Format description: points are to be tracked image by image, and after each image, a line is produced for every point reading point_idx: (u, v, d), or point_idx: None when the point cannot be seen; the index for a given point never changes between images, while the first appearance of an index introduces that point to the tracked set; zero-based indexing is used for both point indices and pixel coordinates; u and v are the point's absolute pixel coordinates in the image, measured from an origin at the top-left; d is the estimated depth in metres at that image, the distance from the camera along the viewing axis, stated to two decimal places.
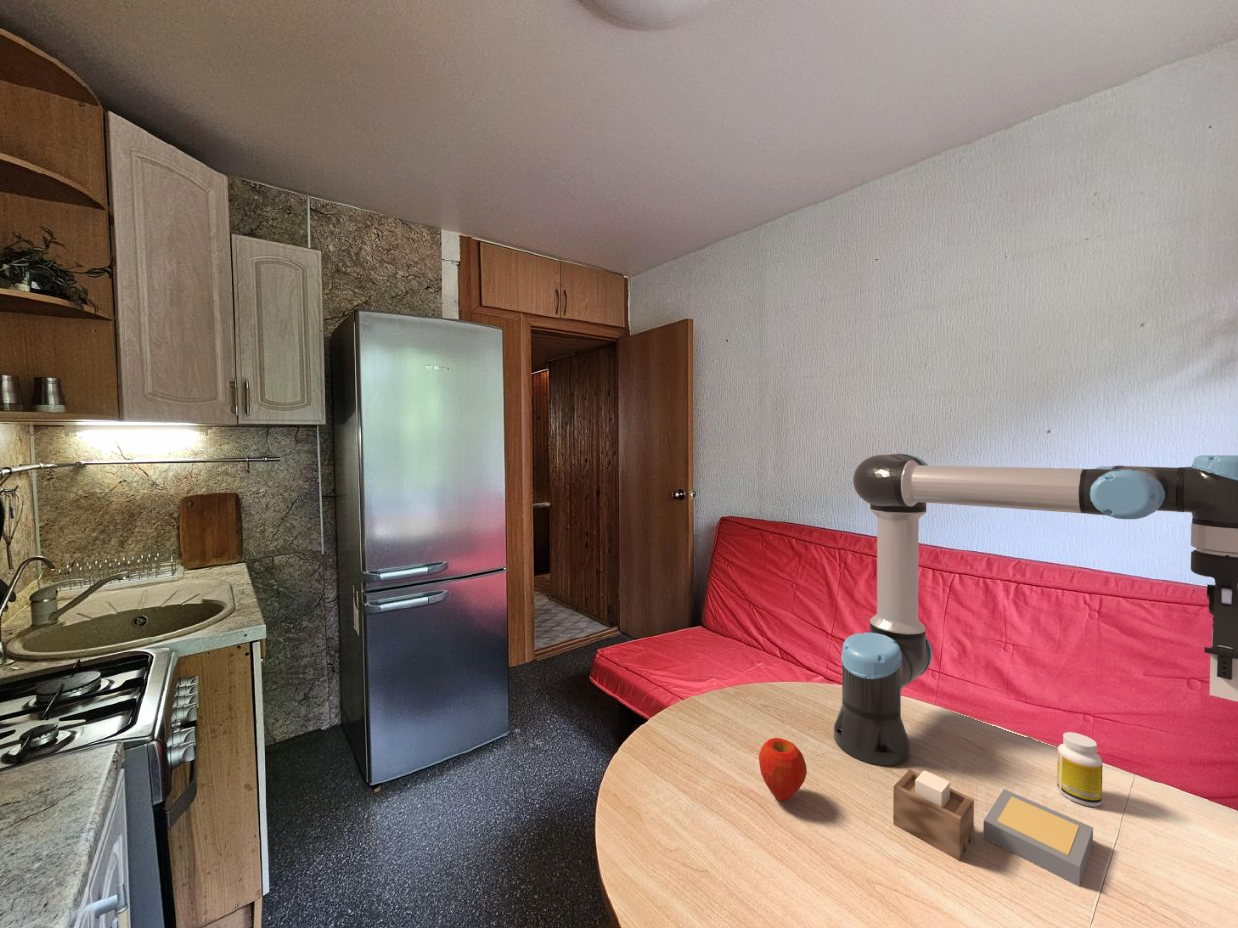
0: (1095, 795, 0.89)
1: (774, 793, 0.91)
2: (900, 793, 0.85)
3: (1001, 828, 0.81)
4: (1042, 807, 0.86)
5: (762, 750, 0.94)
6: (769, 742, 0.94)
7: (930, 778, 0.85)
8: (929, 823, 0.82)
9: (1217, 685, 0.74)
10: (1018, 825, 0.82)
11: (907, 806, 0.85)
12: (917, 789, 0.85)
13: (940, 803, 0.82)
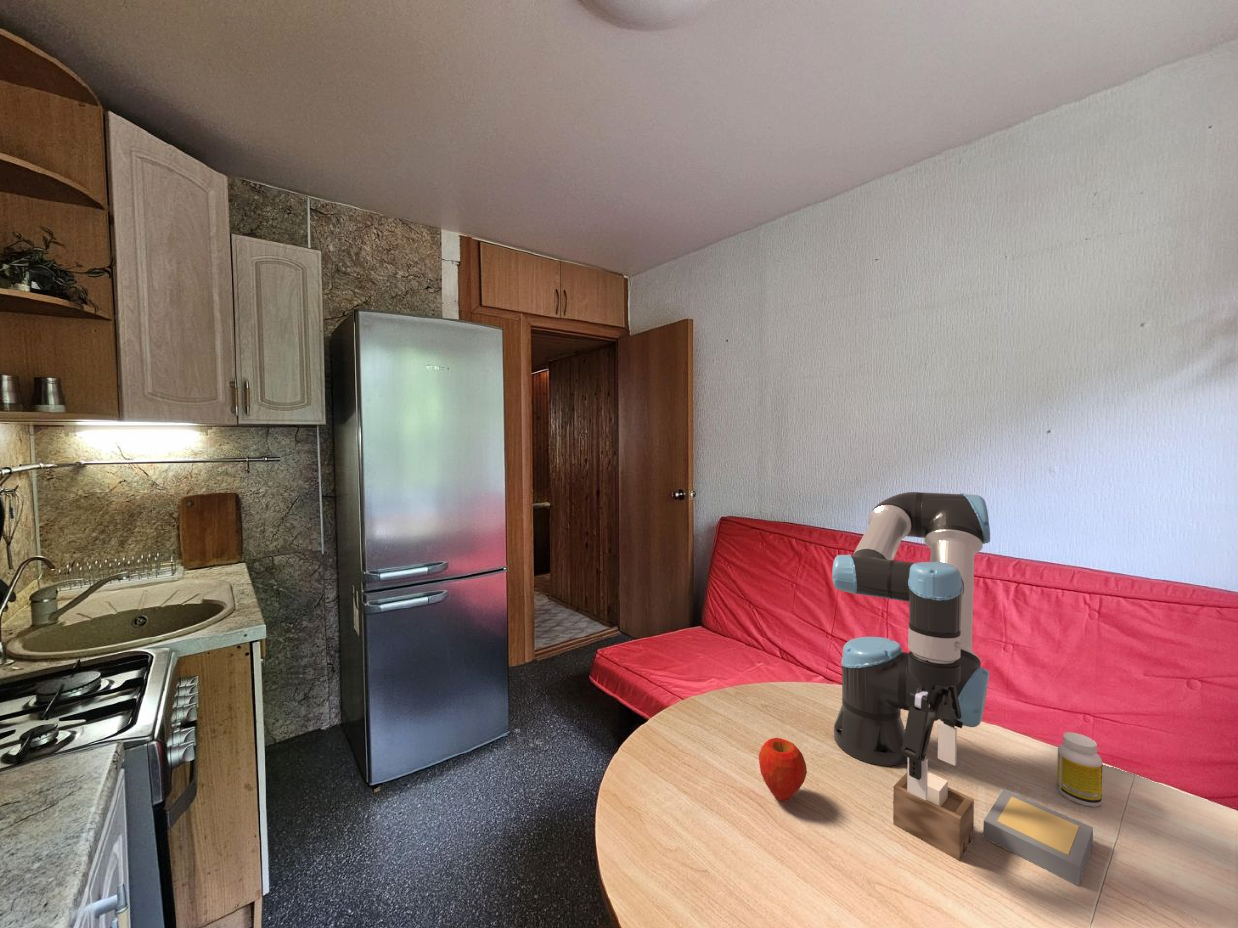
0: (1095, 795, 0.89)
1: (774, 793, 0.91)
2: (900, 793, 0.85)
3: (1001, 828, 0.81)
4: (1042, 807, 0.86)
5: (762, 750, 0.94)
6: (769, 742, 0.94)
7: (928, 777, 0.85)
8: (929, 823, 0.82)
9: (912, 783, 0.80)
10: (1018, 825, 0.82)
11: (907, 806, 0.85)
12: None
13: (938, 802, 0.82)
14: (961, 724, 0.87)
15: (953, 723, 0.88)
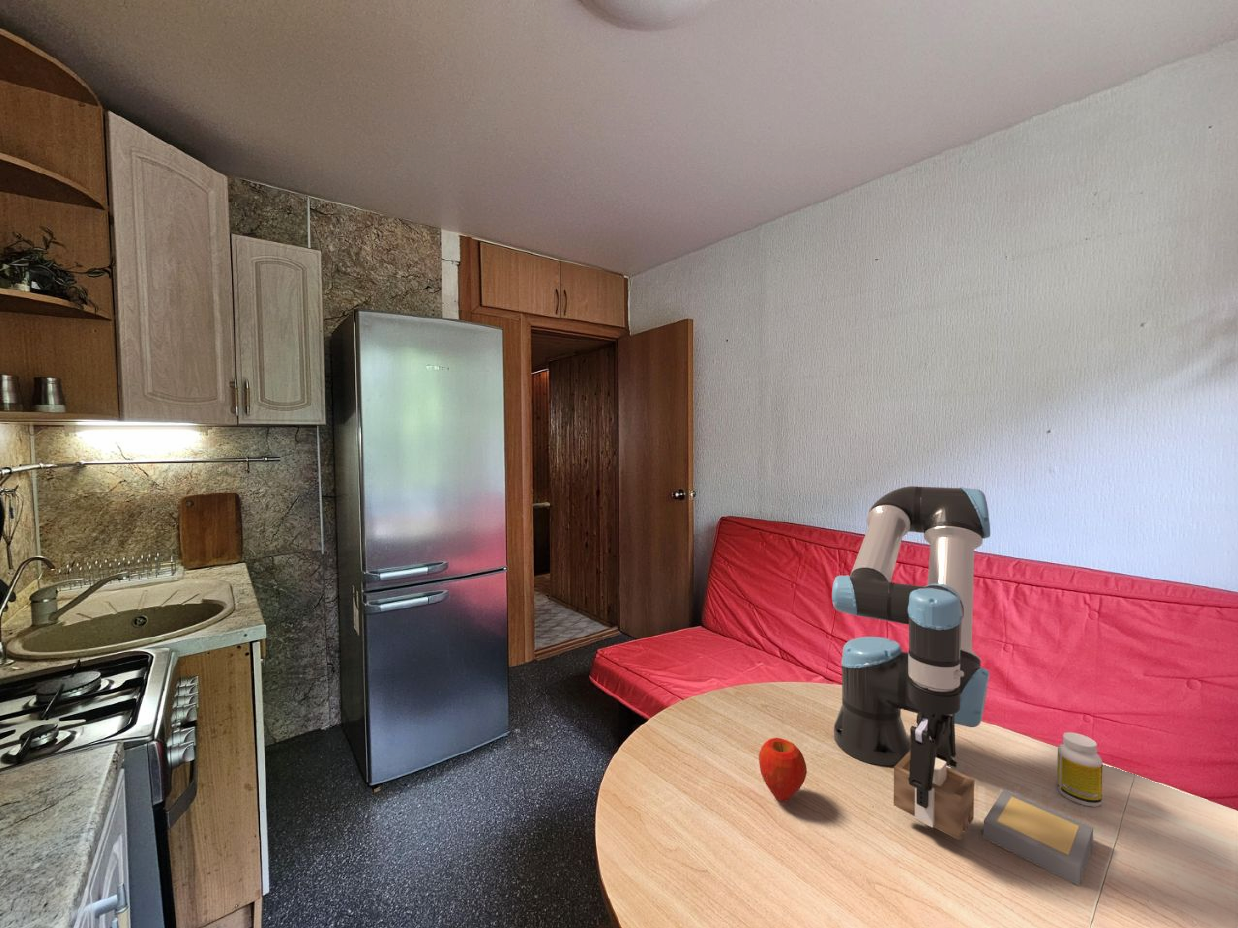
0: (1095, 795, 0.89)
1: (774, 793, 0.91)
2: (900, 774, 0.86)
3: (1001, 828, 0.81)
4: (1042, 807, 0.86)
5: (762, 750, 0.94)
6: (769, 742, 0.94)
7: None
8: None
9: (919, 810, 0.83)
10: (1018, 825, 0.82)
11: (907, 786, 0.85)
12: None
13: (937, 783, 0.82)
14: (955, 763, 0.86)
15: (947, 760, 0.86)
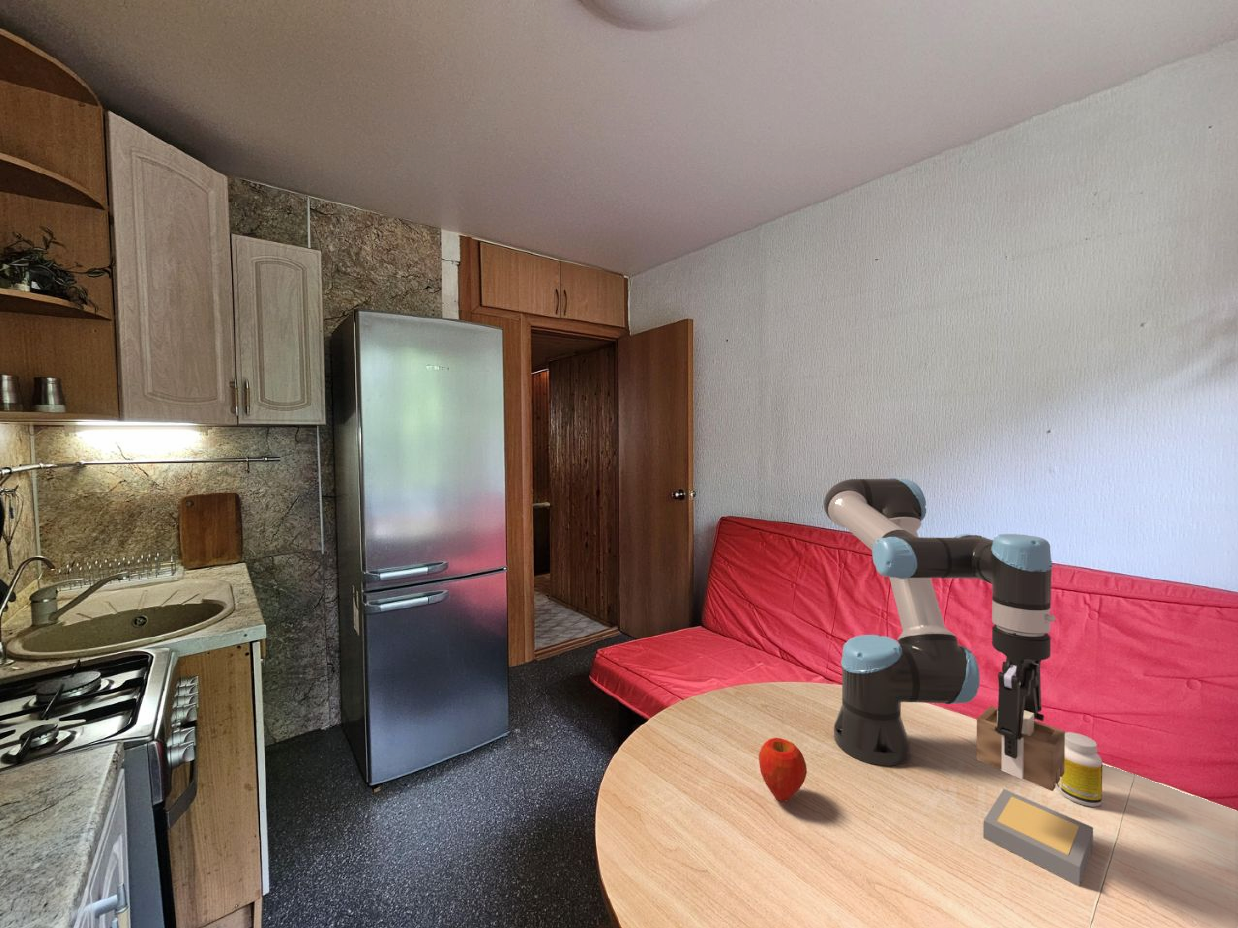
0: (1095, 795, 0.89)
1: (774, 793, 0.91)
2: (984, 725, 0.83)
3: (1001, 828, 0.81)
4: (1042, 807, 0.86)
5: (762, 750, 0.94)
6: (769, 742, 0.94)
7: None
8: None
9: (1007, 762, 0.80)
10: (1018, 825, 0.82)
11: (992, 738, 0.82)
12: None
13: (1026, 733, 0.79)
14: (1042, 717, 0.83)
15: (1034, 714, 0.83)
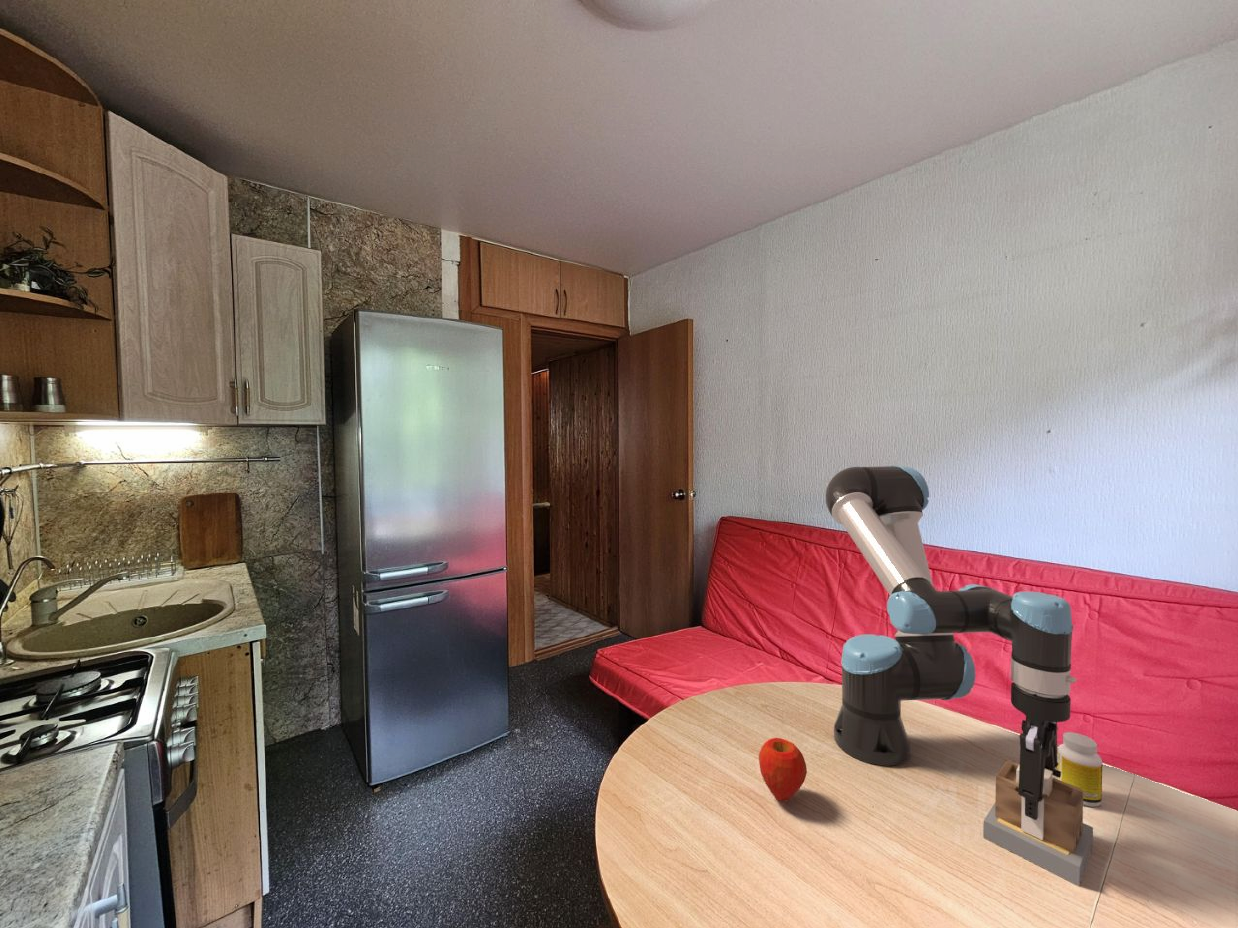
0: (1095, 795, 0.89)
1: (774, 793, 0.91)
2: (1004, 783, 0.83)
3: (1001, 828, 0.81)
4: None
5: (762, 750, 0.94)
6: (769, 742, 0.94)
7: None
8: None
9: (1027, 822, 0.80)
10: None
11: (1011, 797, 0.82)
12: None
13: (1046, 793, 0.79)
14: (1059, 773, 0.84)
15: (1051, 770, 0.84)
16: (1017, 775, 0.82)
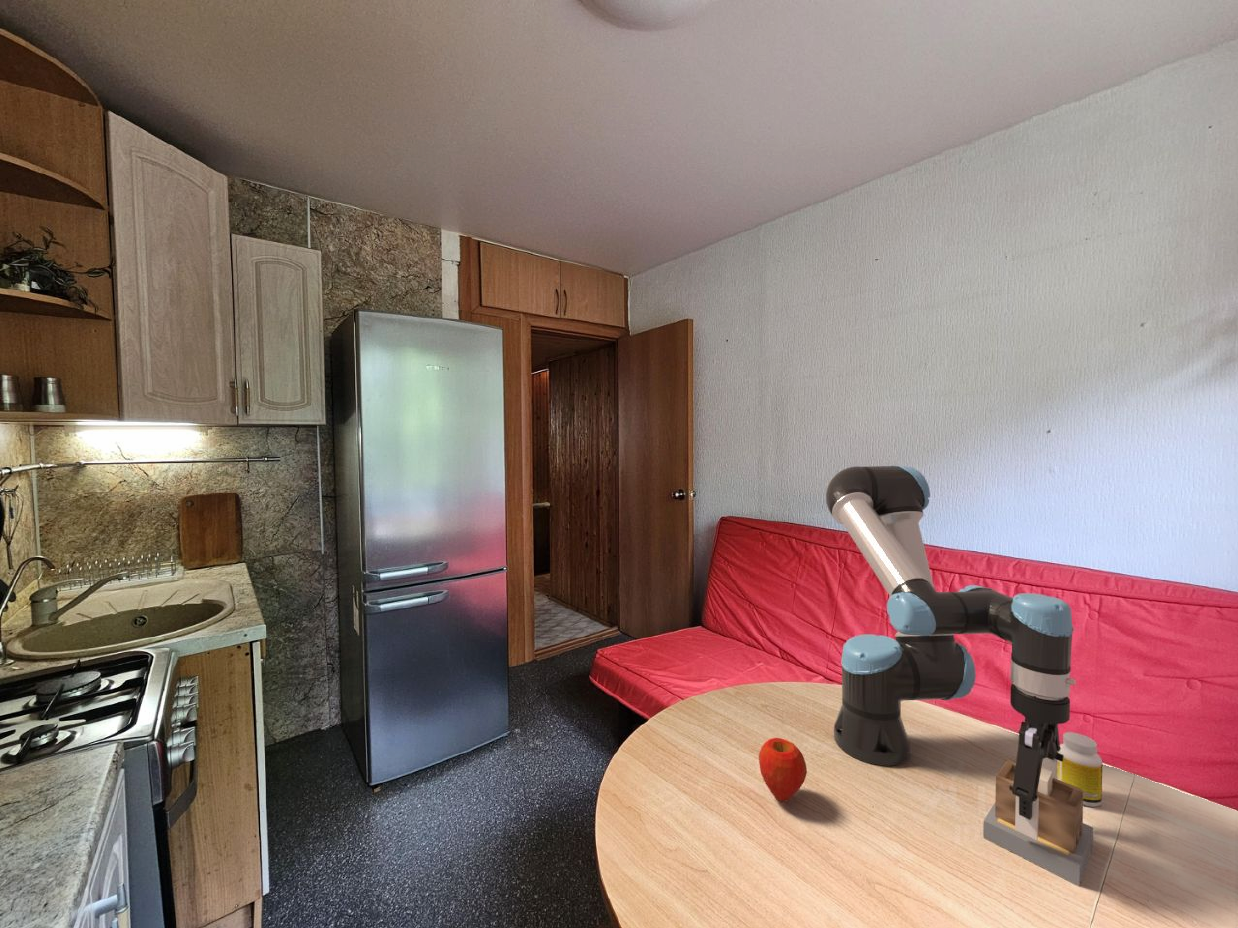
0: (1095, 795, 0.89)
1: (774, 793, 0.91)
2: (1004, 783, 0.83)
3: (1001, 828, 0.81)
4: None
5: (762, 750, 0.94)
6: (769, 742, 0.94)
7: None
8: (1038, 814, 0.79)
9: (1021, 821, 0.78)
10: None
11: (1011, 797, 0.82)
12: None
13: (1046, 793, 0.79)
14: (1062, 757, 0.86)
15: (1054, 756, 0.86)
16: None
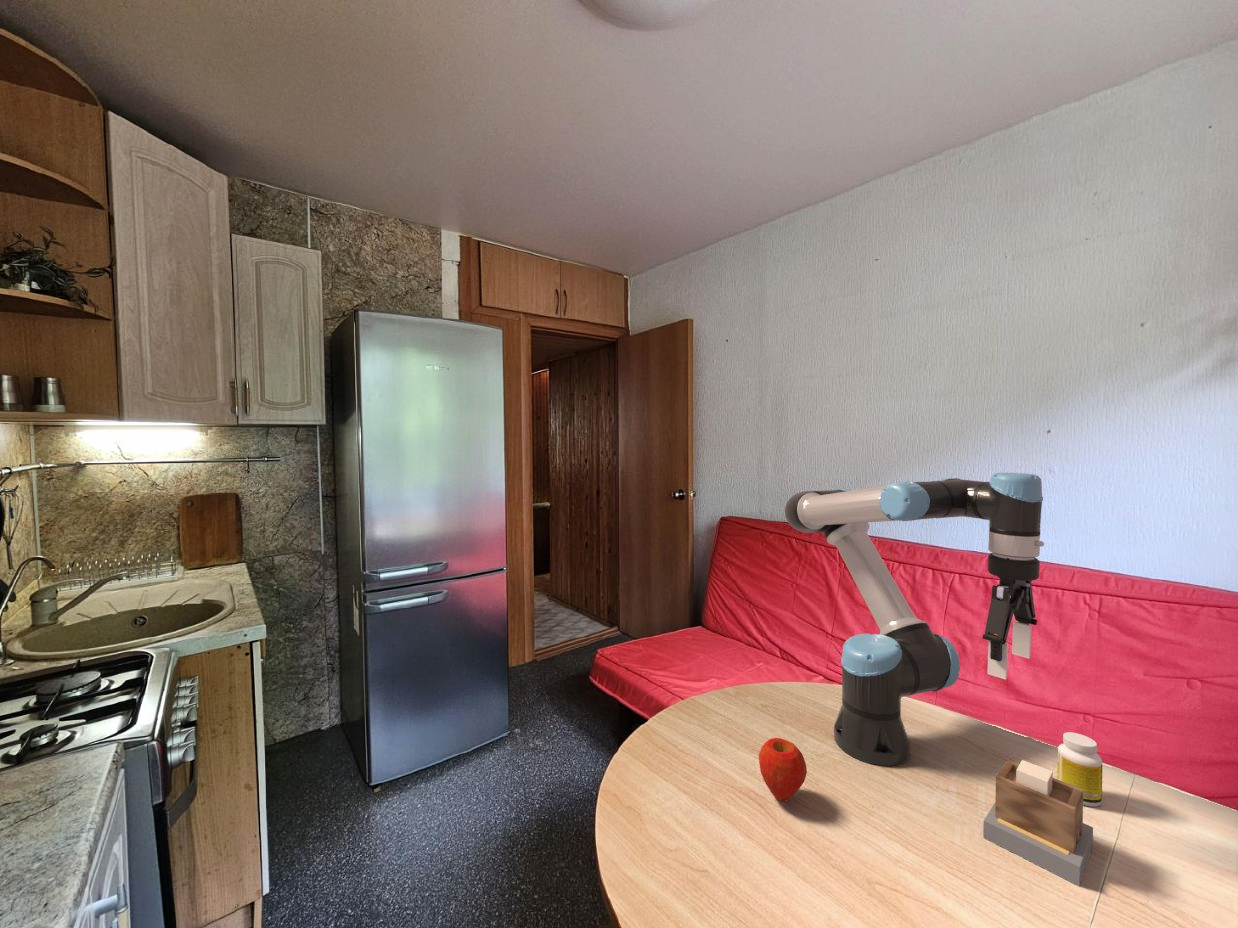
0: (1095, 795, 0.89)
1: (774, 793, 0.91)
2: (1004, 783, 0.83)
3: (1001, 828, 0.81)
4: None
5: (762, 750, 0.94)
6: (769, 742, 0.94)
7: (1031, 768, 0.83)
8: (1038, 814, 0.79)
9: (992, 666, 0.89)
10: None
11: (1011, 797, 0.82)
12: (1019, 779, 0.82)
13: (1046, 793, 0.79)
14: (1036, 622, 0.96)
15: (1028, 621, 0.96)
16: (1017, 775, 0.82)
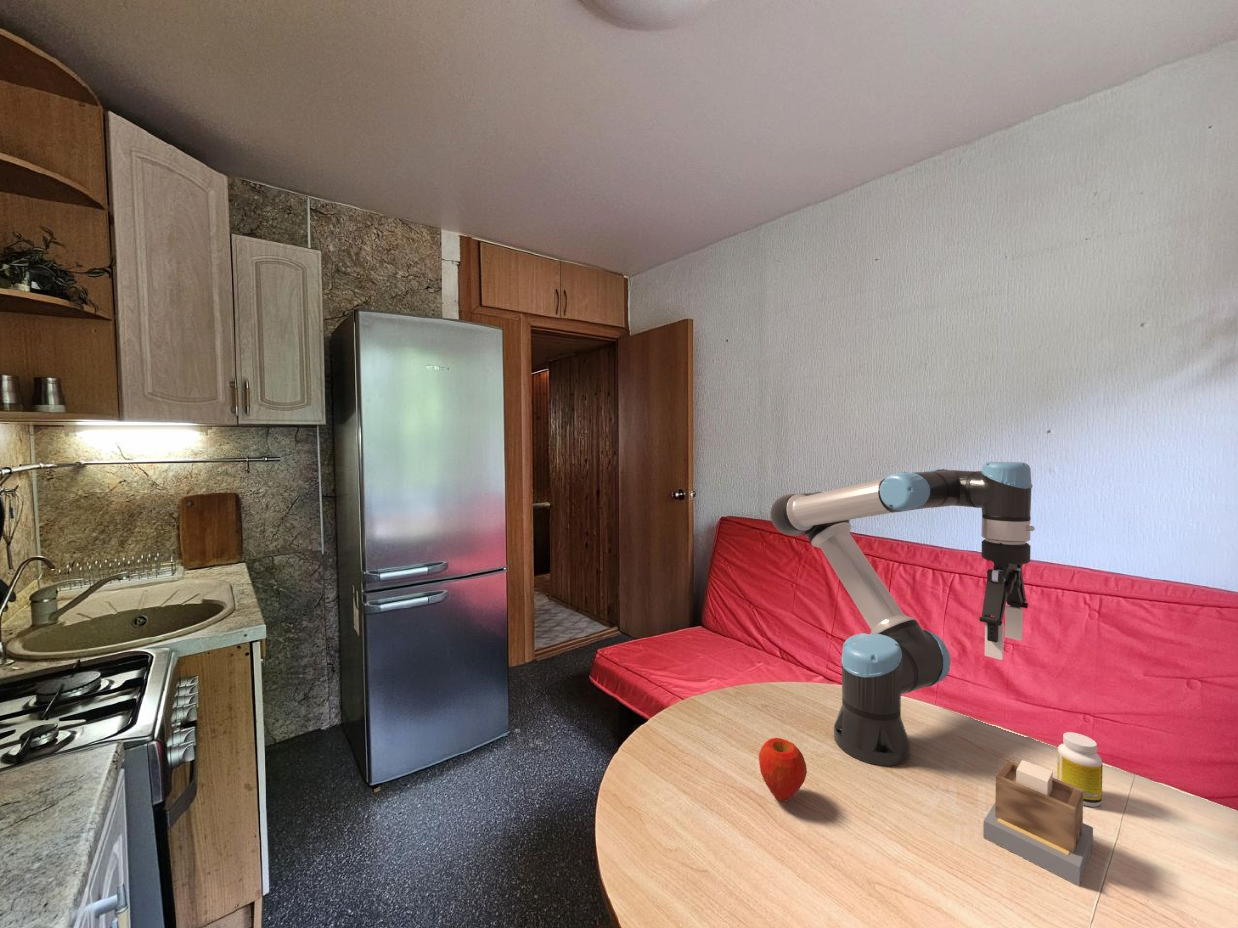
0: (1095, 795, 0.89)
1: (774, 793, 0.91)
2: (1004, 783, 0.83)
3: (1001, 828, 0.81)
4: None
5: (762, 750, 0.94)
6: (769, 742, 0.94)
7: (1031, 768, 0.83)
8: (1038, 814, 0.79)
9: (989, 647, 0.92)
10: None
11: (1011, 797, 0.82)
12: (1019, 779, 0.82)
13: (1046, 793, 0.79)
14: (1026, 605, 1.00)
15: (1019, 604, 1.00)
16: (1017, 775, 0.82)
